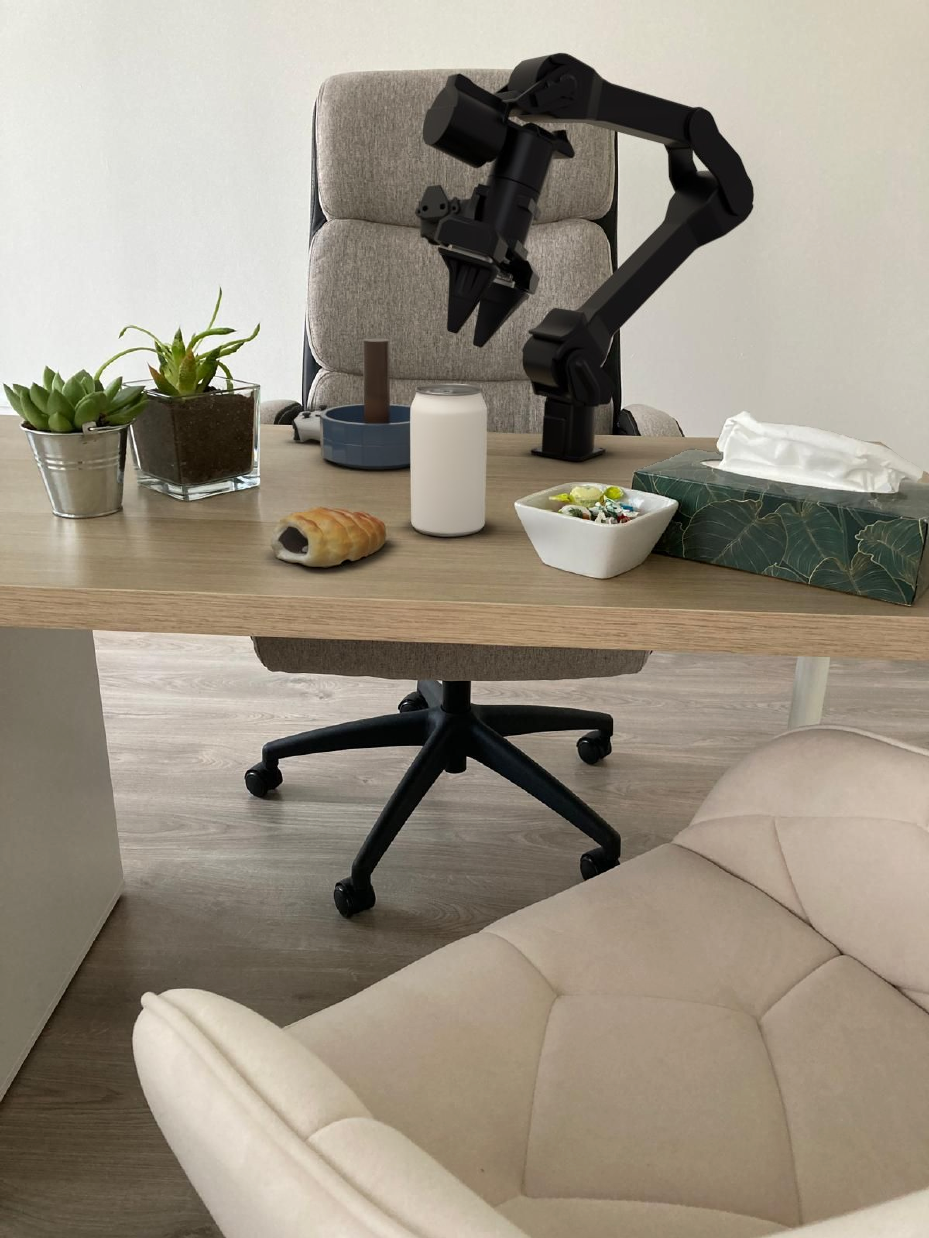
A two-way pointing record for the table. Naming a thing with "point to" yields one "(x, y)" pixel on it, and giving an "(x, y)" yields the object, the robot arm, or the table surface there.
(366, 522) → the pastry
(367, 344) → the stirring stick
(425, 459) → the can
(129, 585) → the table surface
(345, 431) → the bowl
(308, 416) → the game controller
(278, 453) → the table surface
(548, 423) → the robot arm
